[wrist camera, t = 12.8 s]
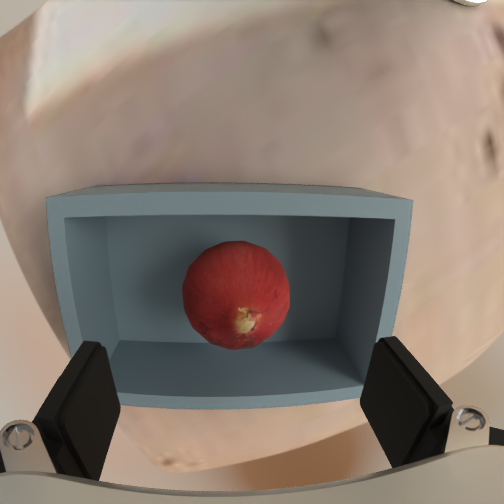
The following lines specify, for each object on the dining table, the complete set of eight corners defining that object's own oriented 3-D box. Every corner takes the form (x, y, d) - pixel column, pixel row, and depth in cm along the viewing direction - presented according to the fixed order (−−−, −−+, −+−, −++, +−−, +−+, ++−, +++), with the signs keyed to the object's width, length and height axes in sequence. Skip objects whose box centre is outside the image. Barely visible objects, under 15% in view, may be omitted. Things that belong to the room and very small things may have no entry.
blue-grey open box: (96, 186, 20) (45, 197, 13) (358, 188, 21) (413, 200, 15) (113, 344, 23) (84, 400, 16) (341, 341, 25) (375, 394, 18)
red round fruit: (272, 312, 22) (309, 377, 14) (188, 319, 21) (186, 390, 14) (272, 229, 21) (316, 258, 13) (181, 233, 20) (171, 267, 12)
